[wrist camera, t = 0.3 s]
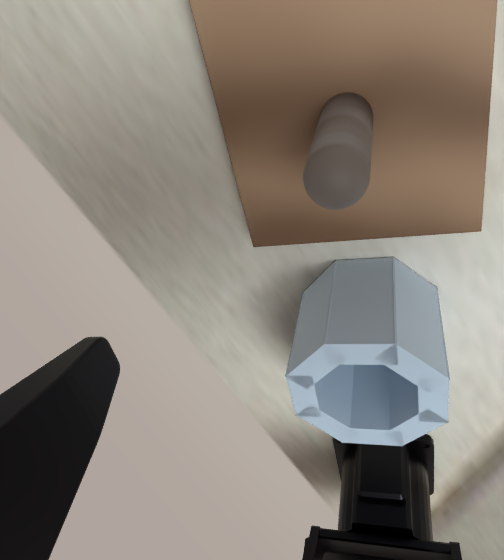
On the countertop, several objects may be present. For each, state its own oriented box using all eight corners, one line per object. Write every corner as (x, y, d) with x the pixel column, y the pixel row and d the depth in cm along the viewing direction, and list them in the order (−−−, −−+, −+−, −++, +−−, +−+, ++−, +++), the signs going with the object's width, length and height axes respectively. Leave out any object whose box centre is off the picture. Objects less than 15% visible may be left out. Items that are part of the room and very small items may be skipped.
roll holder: (476, 213, 21) (510, 330, 15) (259, 230, 24) (220, 333, 18) (494, -98, 15) (566, -100, 9) (198, -20, 18) (108, 15, 12)
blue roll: (436, 354, 26) (447, 449, 22) (315, 354, 28) (302, 440, 24) (437, 254, 22) (450, 343, 18) (296, 262, 25) (276, 343, 20)
